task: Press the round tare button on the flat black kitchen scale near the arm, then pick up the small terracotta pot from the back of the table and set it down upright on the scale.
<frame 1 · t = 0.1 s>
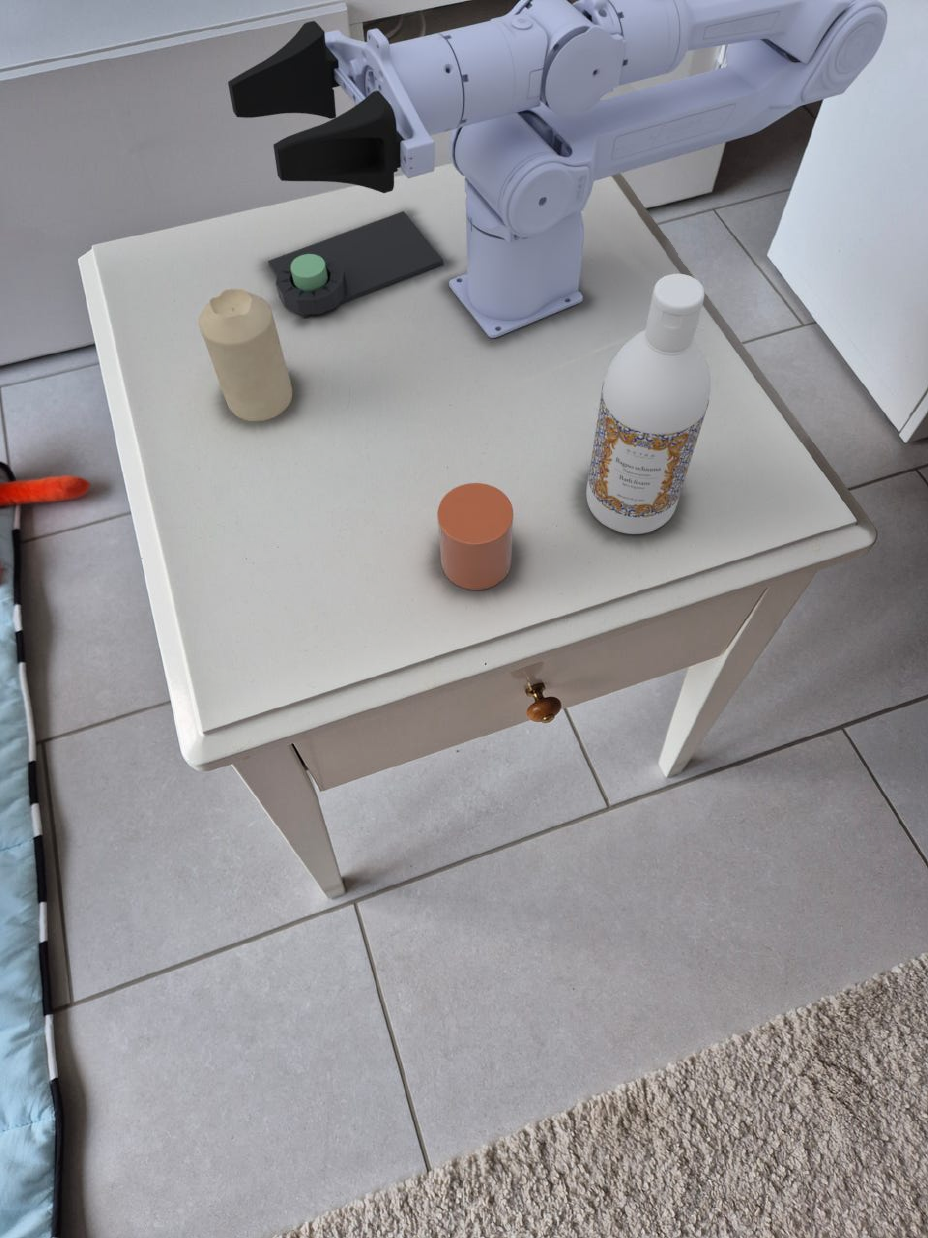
hand: (254, 130, 57), 22 cm above the table, tool horizontal, fingers open, 7 cm apart
candle: (260, 398, 75), on the table
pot: (476, 560, 67), on the table
bath foam: (630, 501, 69), on the table
tare button: (309, 272, 78), point 3 cm above the table, slide at 0.1 cm
scale: (355, 265, 83), on the table
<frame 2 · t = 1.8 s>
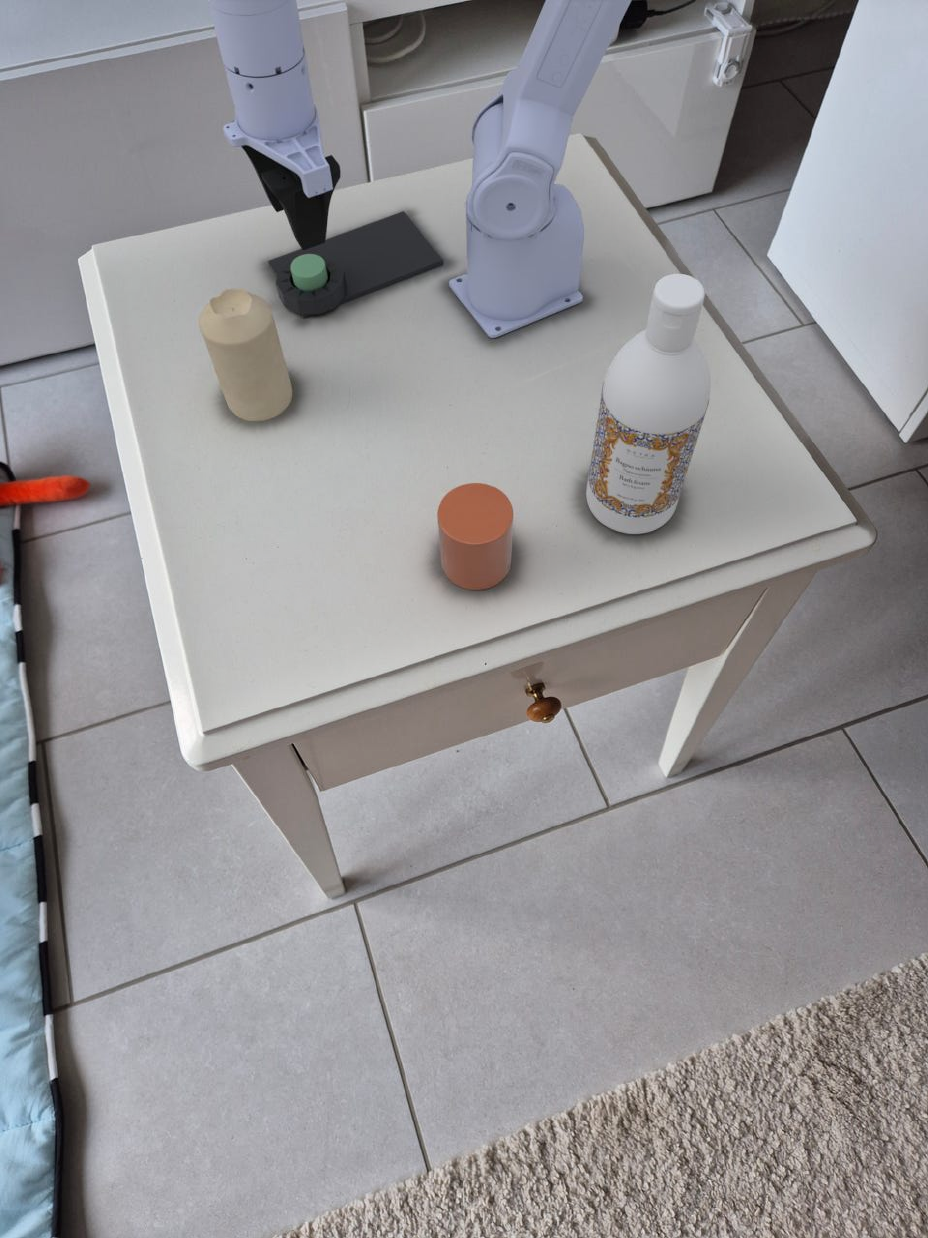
hand: (299, 224, 74), 7 cm above the table, tool pointing down, fingers open, 5 cm apart
nothing on the table moved.
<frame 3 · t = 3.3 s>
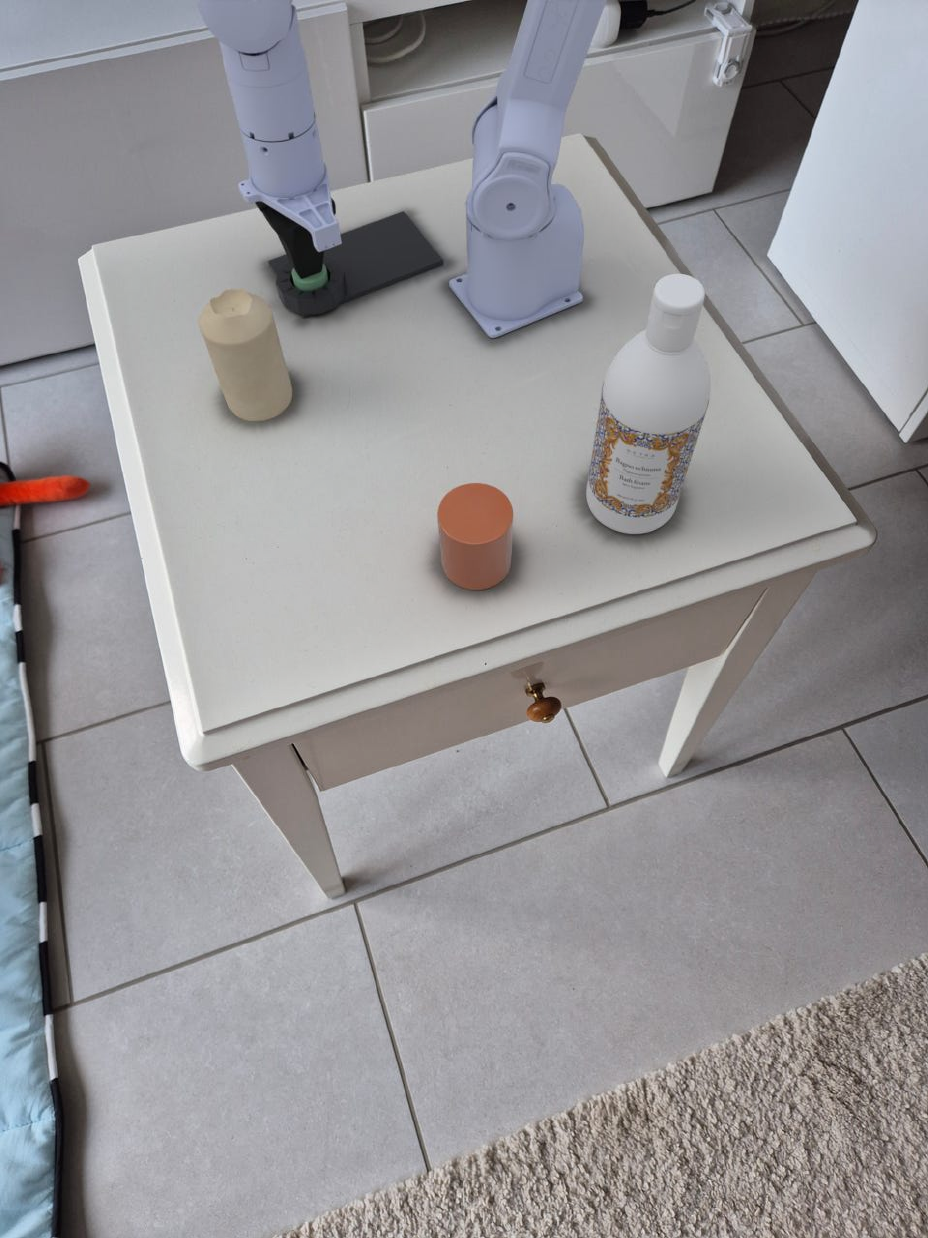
hand: (308, 270, 78), 3 cm above the table, tool pointing down, fingers closed, pressing on tare button
tare button: (310, 277, 79), point 2 cm above the table, slide at -0.4 cm, touching gripper
everything else where it was.
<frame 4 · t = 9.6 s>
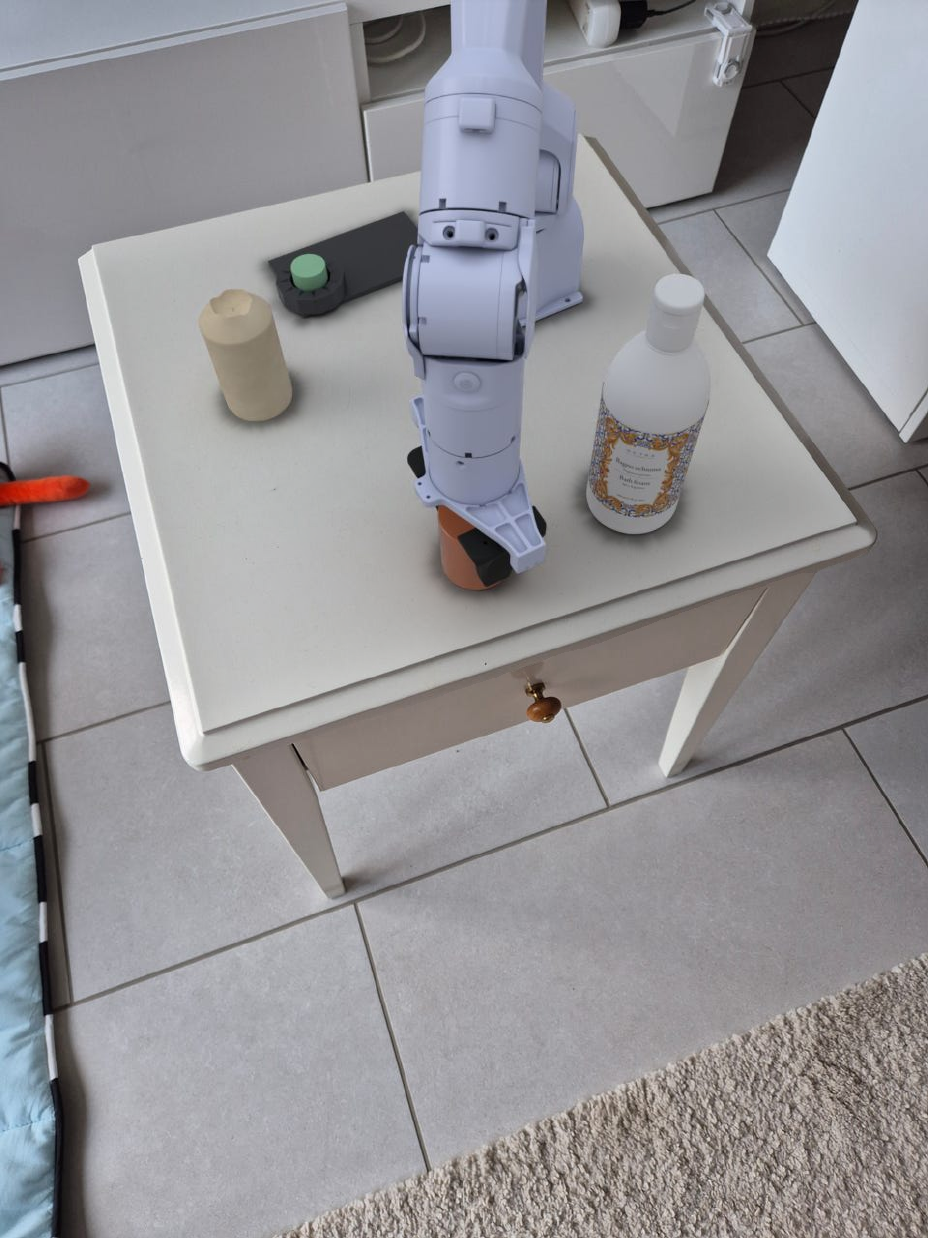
hand: (475, 548, 65), 2 cm above the table, tool pointing down, fingers closed on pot, 5 cm apart
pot: (476, 560, 67), on the table, touching gripper
tare button: (309, 272, 78), point 3 cm above the table, slide at 0.1 cm
everything else where it was.
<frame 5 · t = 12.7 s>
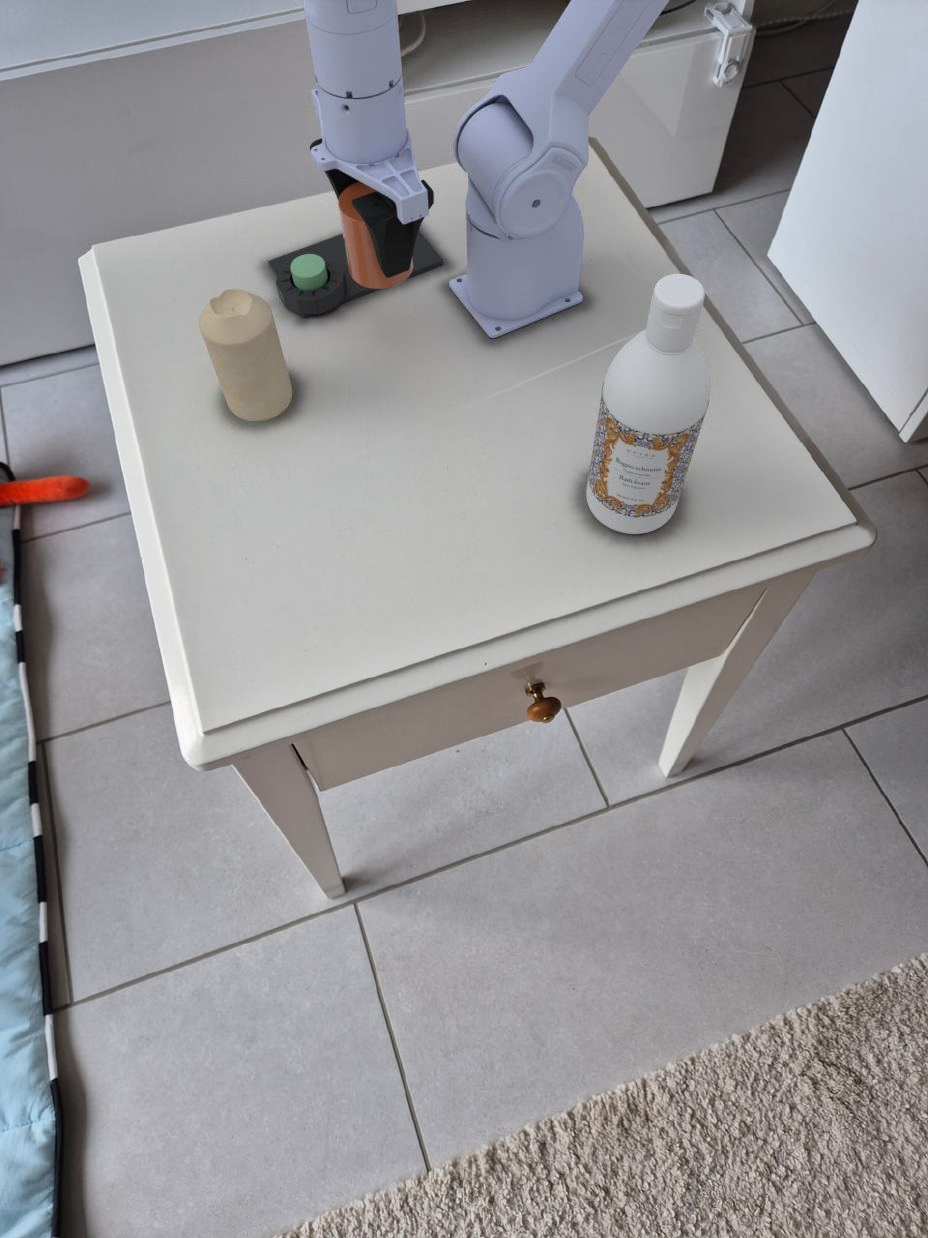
hand: (379, 249, 71), 9 cm above the table, tool pointing down, fingers closed on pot, 5 cm apart
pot: (381, 266, 72), point 7 cm above the table, touching gripper
everything else where it was.
when the fingers open (2 cm above the table, at t = 16.0 s): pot stays where it is, resting on scale.
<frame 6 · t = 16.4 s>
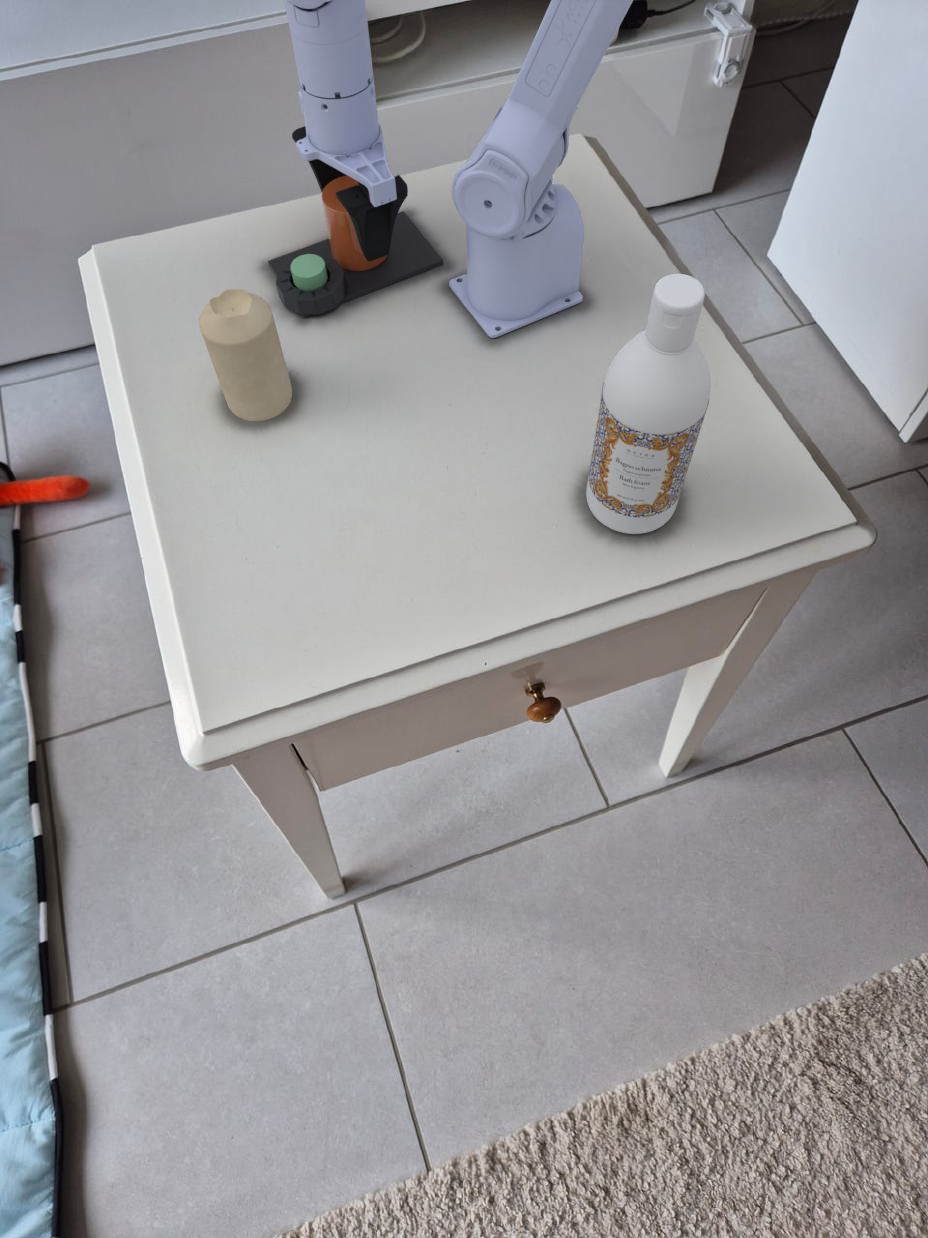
hand: (358, 230, 81), 3 cm above the table, tool pointing down, fingers open, 7 cm apart
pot: (360, 252, 83), point 1 cm above the table, touching scale
everything else where it was.
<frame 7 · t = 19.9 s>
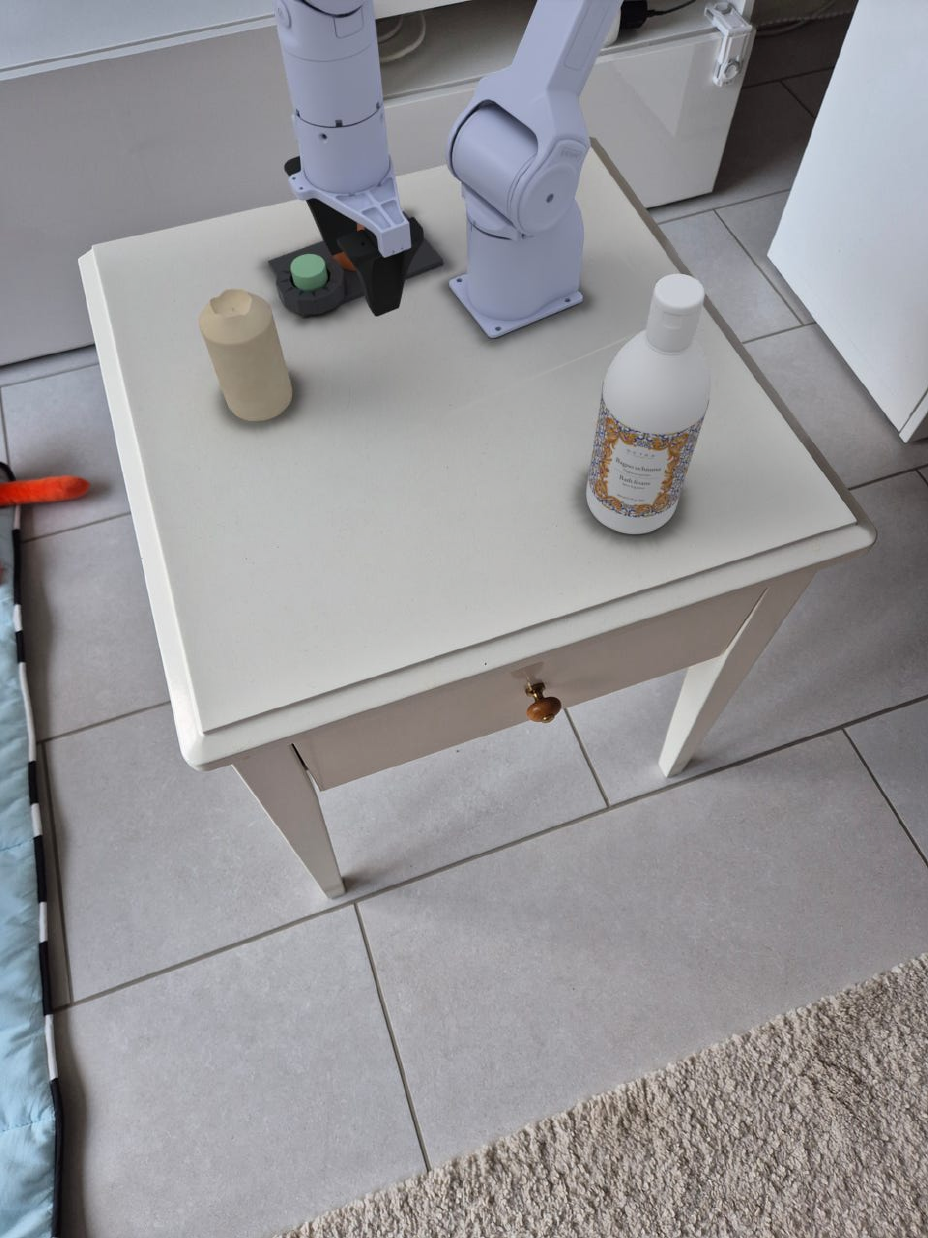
hand: (363, 278, 68), 9 cm above the table, tool pointing down, fingers open, 7 cm apart
nothing on the table moved.
at the end: tare button pushed in 1.1 cm at the most during the clip, back to where it started at the end; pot inside the target area on the scale (0.5 cm from its centre), point 0.6 cm above the scale's base; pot tilted 0° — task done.
